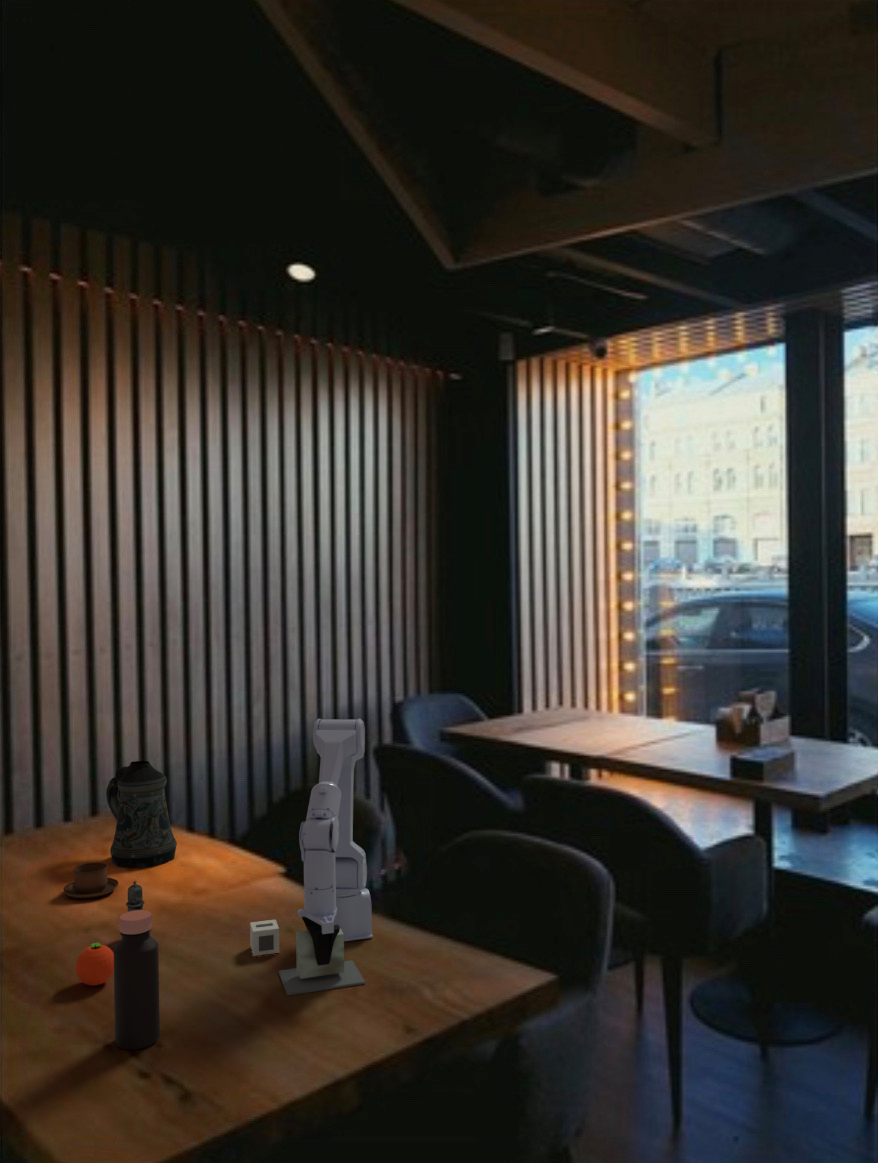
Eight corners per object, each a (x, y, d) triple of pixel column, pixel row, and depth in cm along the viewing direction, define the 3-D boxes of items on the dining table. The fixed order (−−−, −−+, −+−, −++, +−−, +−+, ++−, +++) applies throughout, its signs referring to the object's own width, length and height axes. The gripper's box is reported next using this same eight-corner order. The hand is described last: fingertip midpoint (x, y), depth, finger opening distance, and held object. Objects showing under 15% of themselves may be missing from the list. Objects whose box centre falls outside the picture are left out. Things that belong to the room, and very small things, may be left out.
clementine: (74, 977, 176) (74, 939, 176) (114, 970, 178) (113, 933, 178) (76, 995, 168) (75, 955, 168) (118, 988, 171) (117, 948, 171)
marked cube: (275, 944, 190) (275, 918, 190) (279, 954, 185) (279, 928, 185) (250, 947, 189) (250, 921, 189) (253, 957, 184) (253, 931, 184)
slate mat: (352, 962, 181) (352, 960, 181) (365, 983, 171) (365, 981, 171) (278, 972, 177) (278, 970, 177) (287, 995, 167) (287, 993, 167)
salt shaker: (141, 946, 190) (140, 886, 190) (114, 944, 191) (113, 884, 191) (156, 934, 196) (155, 876, 196) (130, 933, 197) (129, 875, 197)
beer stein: (166, 868, 240) (164, 769, 239) (89, 869, 240) (87, 770, 240) (184, 849, 256) (183, 756, 256) (112, 849, 256) (111, 757, 256)
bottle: (135, 1055, 147) (132, 926, 147) (105, 1044, 151) (103, 918, 150) (169, 1036, 153) (167, 912, 153) (140, 1026, 156) (138, 904, 156)
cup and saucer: (51, 899, 219) (51, 872, 219) (89, 883, 230) (88, 857, 230) (93, 905, 214) (92, 878, 214) (129, 888, 225) (128, 862, 225)
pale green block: (339, 963, 177) (339, 926, 177) (344, 972, 173) (343, 934, 173) (296, 969, 175) (296, 931, 174) (300, 978, 171) (299, 939, 171)
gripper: (291, 875, 179) (292, 947, 180) (305, 900, 166) (306, 978, 166) (328, 871, 182) (329, 942, 182) (344, 895, 168) (345, 972, 168)
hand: (320, 959), depth 174 cm, fingers closed on pale green block, 4 cm apart
